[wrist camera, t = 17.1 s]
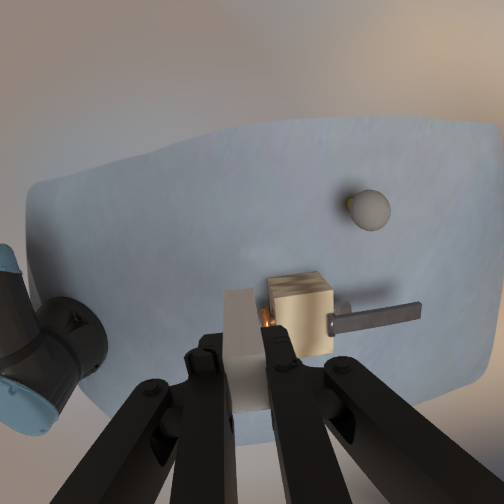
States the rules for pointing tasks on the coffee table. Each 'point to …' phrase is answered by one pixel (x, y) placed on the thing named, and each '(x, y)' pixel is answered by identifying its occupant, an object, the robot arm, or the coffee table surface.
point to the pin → (269, 318)
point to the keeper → (372, 318)
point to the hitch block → (303, 311)
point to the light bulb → (369, 210)
